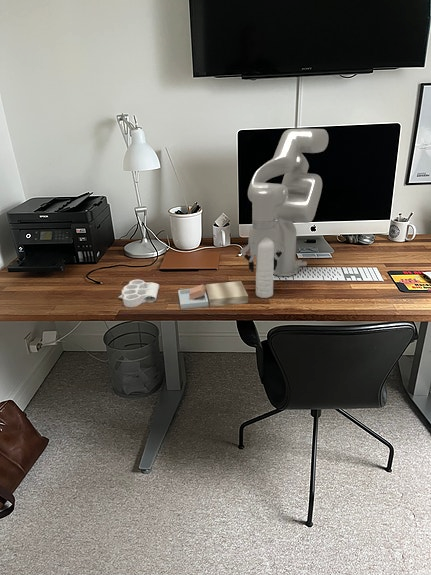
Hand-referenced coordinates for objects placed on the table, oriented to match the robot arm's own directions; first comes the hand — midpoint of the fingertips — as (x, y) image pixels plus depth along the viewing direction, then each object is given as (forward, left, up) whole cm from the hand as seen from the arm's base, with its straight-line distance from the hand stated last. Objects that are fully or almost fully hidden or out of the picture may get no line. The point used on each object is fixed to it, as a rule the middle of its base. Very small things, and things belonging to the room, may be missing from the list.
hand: (262, 269), depth 166 cm
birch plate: (+14, 0, -10) cm, 17 cm away
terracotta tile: (+24, -1, -8) cm, 26 cm away
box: (+27, 0, -10) cm, 28 cm away
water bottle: (0, 0, -10) cm, 10 cm away
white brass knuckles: (+47, -9, -11) cm, 49 cm away
